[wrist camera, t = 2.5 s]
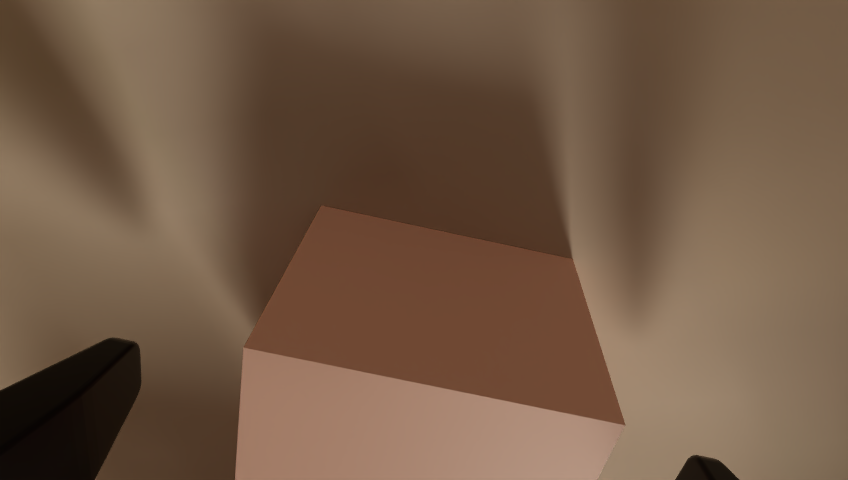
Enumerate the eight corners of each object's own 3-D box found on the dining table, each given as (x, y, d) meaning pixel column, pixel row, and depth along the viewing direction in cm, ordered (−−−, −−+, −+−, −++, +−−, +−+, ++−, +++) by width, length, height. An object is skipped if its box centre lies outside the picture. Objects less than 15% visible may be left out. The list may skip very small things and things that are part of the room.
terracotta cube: (571, 255, 10) (624, 425, 7) (504, 433, 12) (518, 632, 9) (322, 202, 10) (243, 347, 7) (298, 391, 12) (229, 577, 9)
